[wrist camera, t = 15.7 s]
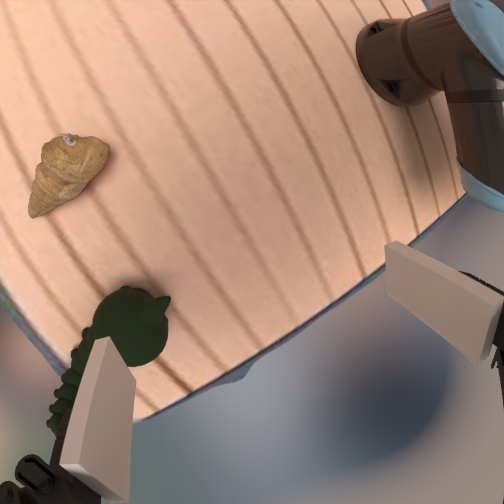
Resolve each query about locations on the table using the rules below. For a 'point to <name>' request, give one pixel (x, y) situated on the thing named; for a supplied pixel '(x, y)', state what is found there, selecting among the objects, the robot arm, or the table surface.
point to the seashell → (65, 170)
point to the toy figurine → (116, 340)
